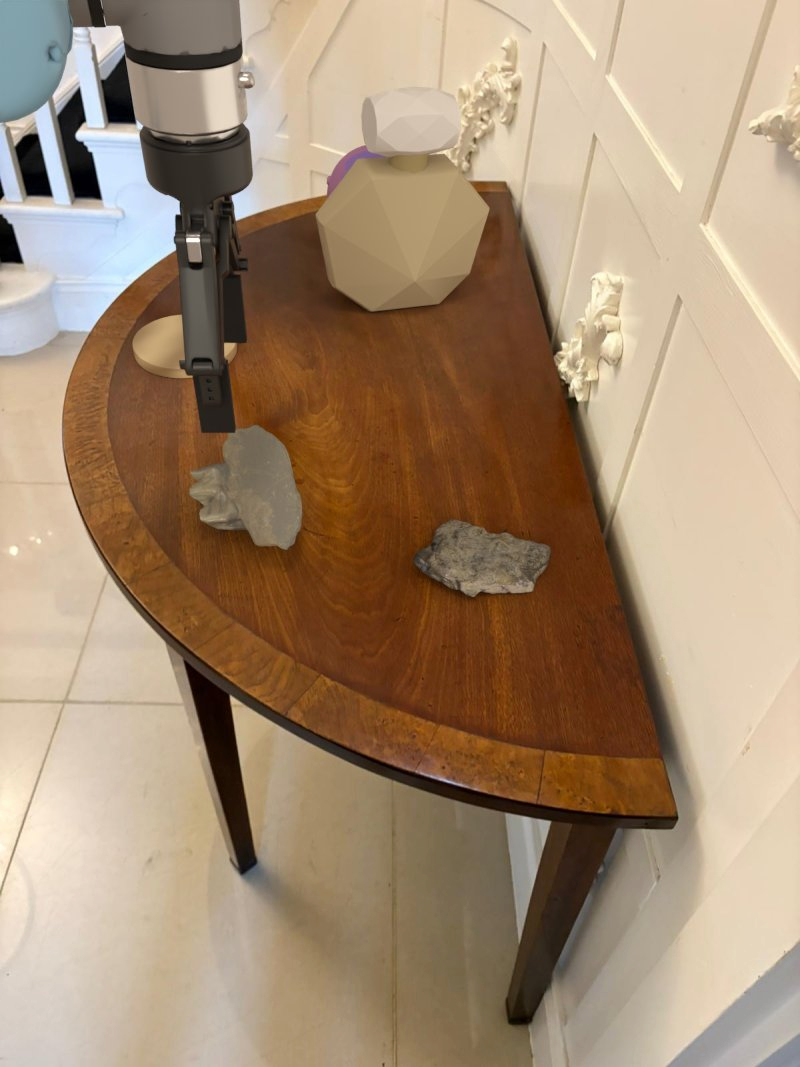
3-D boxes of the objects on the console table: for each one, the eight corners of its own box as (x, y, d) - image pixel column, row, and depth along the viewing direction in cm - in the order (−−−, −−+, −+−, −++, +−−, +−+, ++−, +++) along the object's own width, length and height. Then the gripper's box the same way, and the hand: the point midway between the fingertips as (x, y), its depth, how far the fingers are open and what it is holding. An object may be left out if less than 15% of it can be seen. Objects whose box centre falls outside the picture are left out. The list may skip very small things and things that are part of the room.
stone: (549, 552, 80) (555, 532, 78) (539, 615, 74) (545, 596, 72) (415, 523, 82) (417, 503, 80) (395, 583, 76) (396, 563, 74)
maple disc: (125, 377, 97) (123, 367, 96) (143, 322, 106) (141, 312, 105) (232, 379, 98) (231, 369, 97) (241, 325, 107) (240, 315, 106)
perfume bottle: (489, 310, 114) (523, 99, 94) (329, 328, 108) (328, 106, 88) (459, 271, 122) (484, 68, 102) (308, 286, 116) (303, 74, 96)
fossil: (267, 504, 88) (178, 490, 83) (298, 422, 83) (205, 401, 78) (299, 581, 77) (198, 570, 72) (336, 491, 72) (231, 472, 67)
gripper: (234, 200, 46) (261, 475, 61) (259, 72, 63) (275, 310, 78) (102, 197, 45) (162, 475, 60) (164, 68, 63) (198, 309, 78)
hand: (226, 382), depth 69 cm, fingers open, 13 cm apart
